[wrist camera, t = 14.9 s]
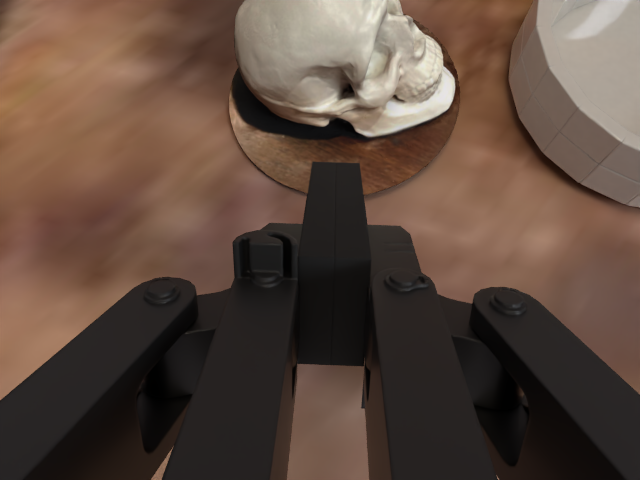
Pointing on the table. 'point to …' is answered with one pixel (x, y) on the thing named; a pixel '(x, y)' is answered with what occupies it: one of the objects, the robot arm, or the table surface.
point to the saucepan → (583, 90)
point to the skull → (340, 89)
